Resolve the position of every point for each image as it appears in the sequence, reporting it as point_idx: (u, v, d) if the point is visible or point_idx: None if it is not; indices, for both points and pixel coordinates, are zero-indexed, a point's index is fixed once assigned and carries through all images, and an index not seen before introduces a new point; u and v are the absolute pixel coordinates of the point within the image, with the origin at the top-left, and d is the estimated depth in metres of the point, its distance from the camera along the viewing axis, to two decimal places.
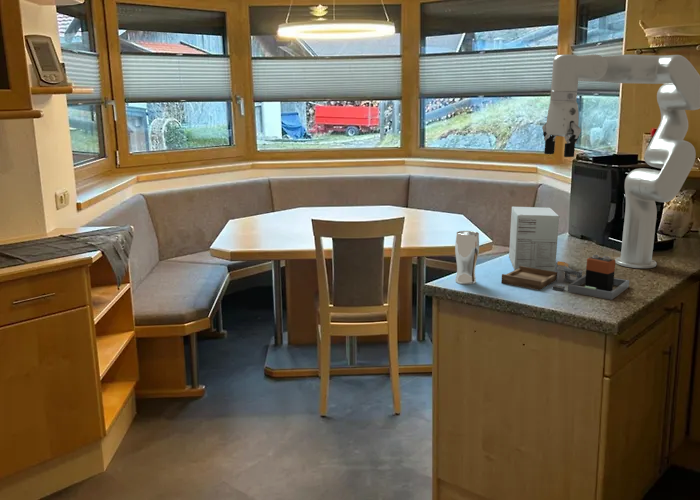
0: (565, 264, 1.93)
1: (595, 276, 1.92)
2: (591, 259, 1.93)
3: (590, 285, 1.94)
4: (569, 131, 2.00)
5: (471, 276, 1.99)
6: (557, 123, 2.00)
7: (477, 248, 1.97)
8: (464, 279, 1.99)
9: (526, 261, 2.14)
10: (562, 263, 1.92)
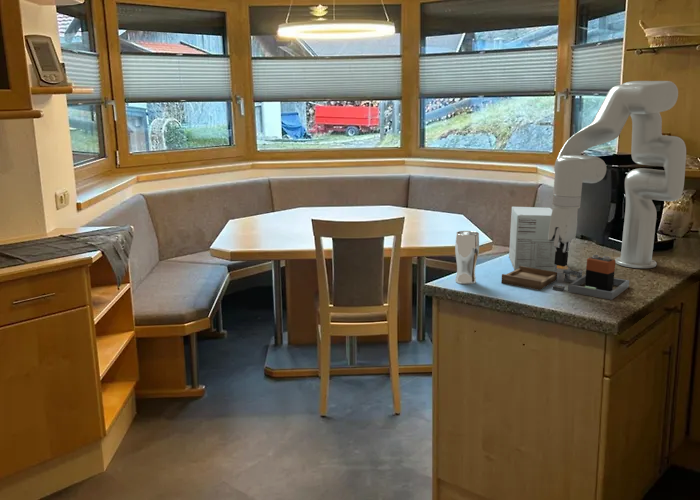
0: (564, 267, 1.93)
1: (595, 276, 1.92)
2: (591, 259, 1.93)
3: (590, 285, 1.94)
4: None
5: (471, 276, 1.99)
6: (574, 228, 1.90)
7: (477, 248, 1.97)
8: (464, 279, 1.99)
9: (526, 261, 2.14)
10: (561, 266, 1.92)
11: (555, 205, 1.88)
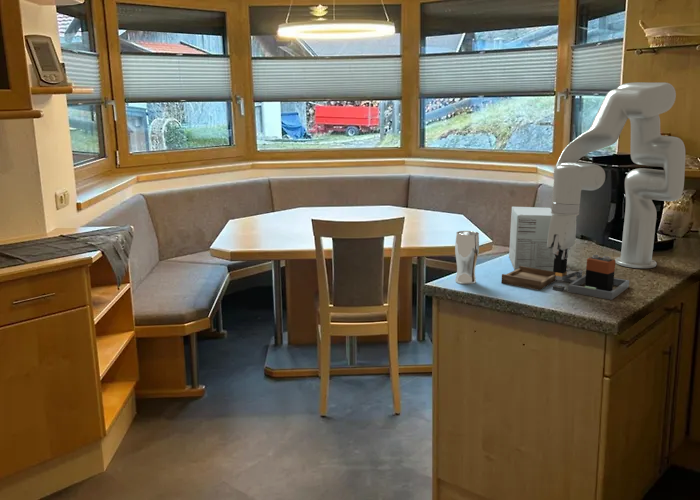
0: (563, 274, 1.93)
1: (595, 276, 1.92)
2: (591, 259, 1.93)
3: (590, 285, 1.94)
4: None
5: (471, 276, 1.99)
6: (573, 235, 1.91)
7: (477, 248, 1.97)
8: (464, 279, 1.99)
9: (526, 261, 2.14)
10: (560, 274, 1.92)
11: (554, 212, 1.88)
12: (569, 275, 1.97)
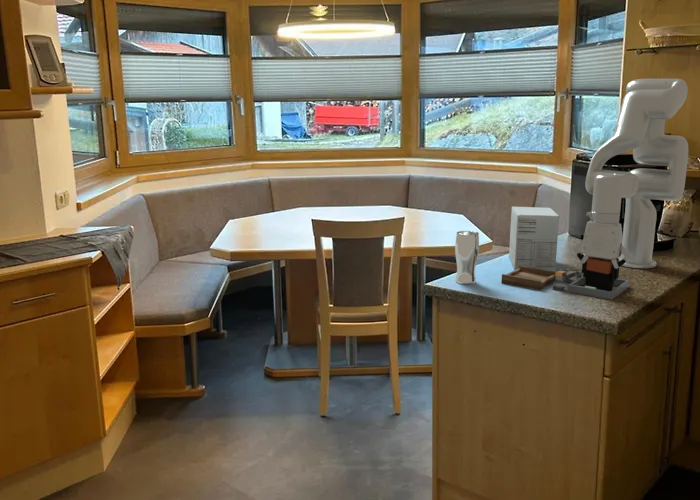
0: (563, 274, 1.93)
1: (595, 276, 1.92)
2: (591, 259, 1.93)
3: (590, 285, 1.94)
4: None
5: (471, 276, 1.99)
6: None
7: (477, 248, 1.97)
8: (464, 279, 1.99)
9: (526, 261, 2.14)
10: (560, 274, 1.92)
11: (614, 223, 1.87)
12: (569, 275, 1.97)
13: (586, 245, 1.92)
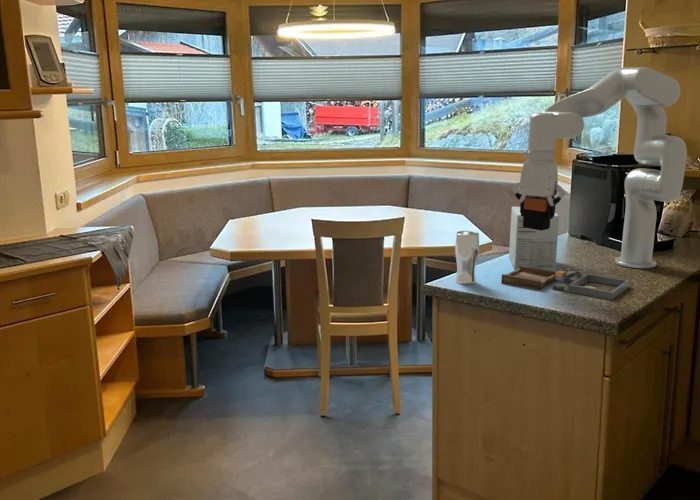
0: (563, 274, 1.93)
1: (532, 214, 1.96)
2: (528, 198, 1.96)
3: (527, 224, 1.97)
4: None
5: (471, 276, 1.99)
6: None
7: (477, 248, 1.97)
8: (464, 279, 1.99)
9: (526, 261, 2.14)
10: (560, 274, 1.92)
11: (549, 161, 1.90)
12: (569, 275, 1.97)
13: (523, 184, 1.95)
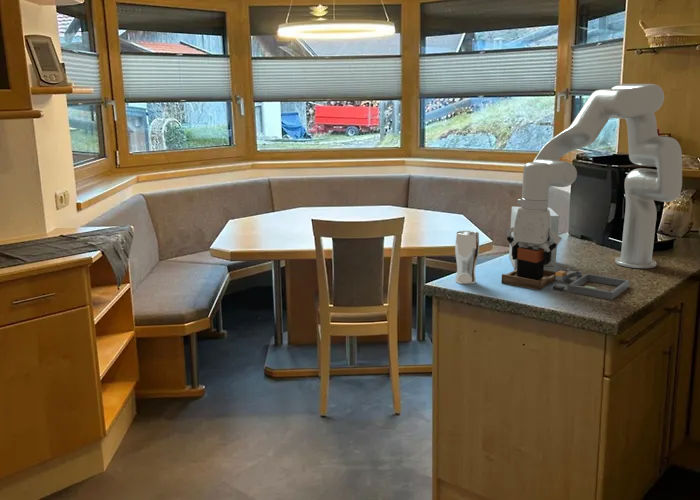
0: (563, 274, 1.93)
1: (525, 264, 1.99)
2: (521, 249, 2.00)
3: (521, 274, 2.01)
4: None
5: (471, 276, 1.99)
6: None
7: (477, 248, 1.97)
8: (464, 279, 1.99)
9: None
10: (560, 274, 1.92)
11: (542, 209, 1.94)
12: (569, 275, 1.97)
13: (517, 231, 1.99)
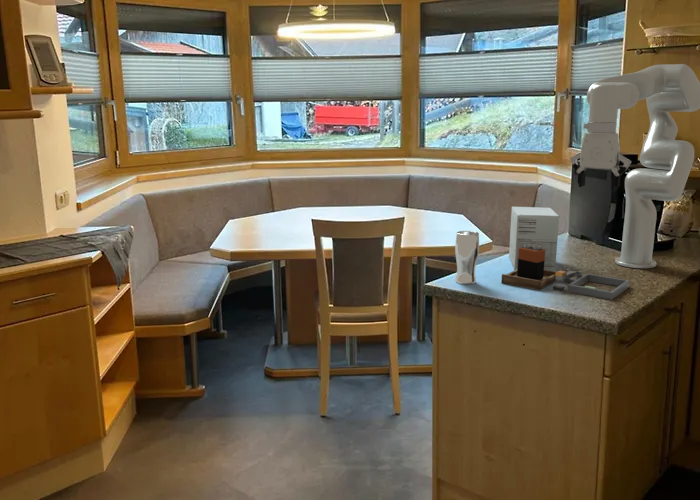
0: (563, 274, 1.93)
1: (526, 264, 2.00)
2: (522, 248, 2.00)
3: (522, 273, 2.01)
4: None
5: (471, 276, 1.99)
6: None
7: (477, 248, 1.97)
8: (464, 279, 1.99)
9: None
10: (560, 274, 1.92)
11: (611, 132, 1.89)
12: (569, 275, 1.97)
13: (584, 156, 1.94)
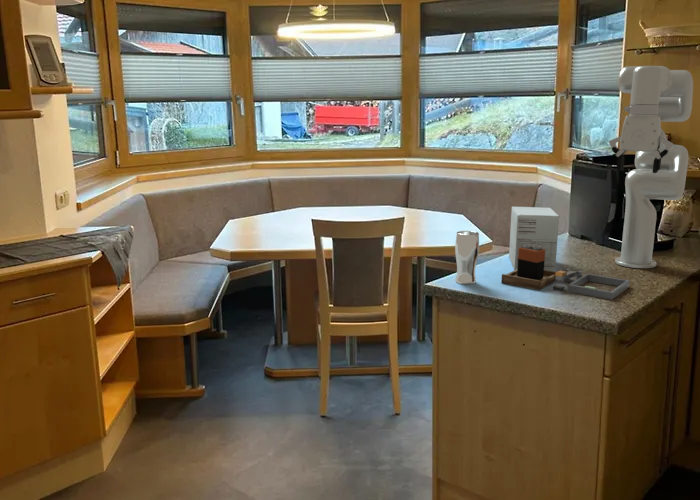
0: (563, 274, 1.93)
1: (526, 264, 2.00)
2: (522, 248, 2.00)
3: (522, 273, 2.01)
4: None
5: (471, 276, 1.99)
6: None
7: (477, 248, 1.97)
8: (464, 279, 1.99)
9: None
10: (560, 274, 1.92)
11: (653, 114, 1.88)
12: (569, 275, 1.97)
13: (624, 139, 1.93)
